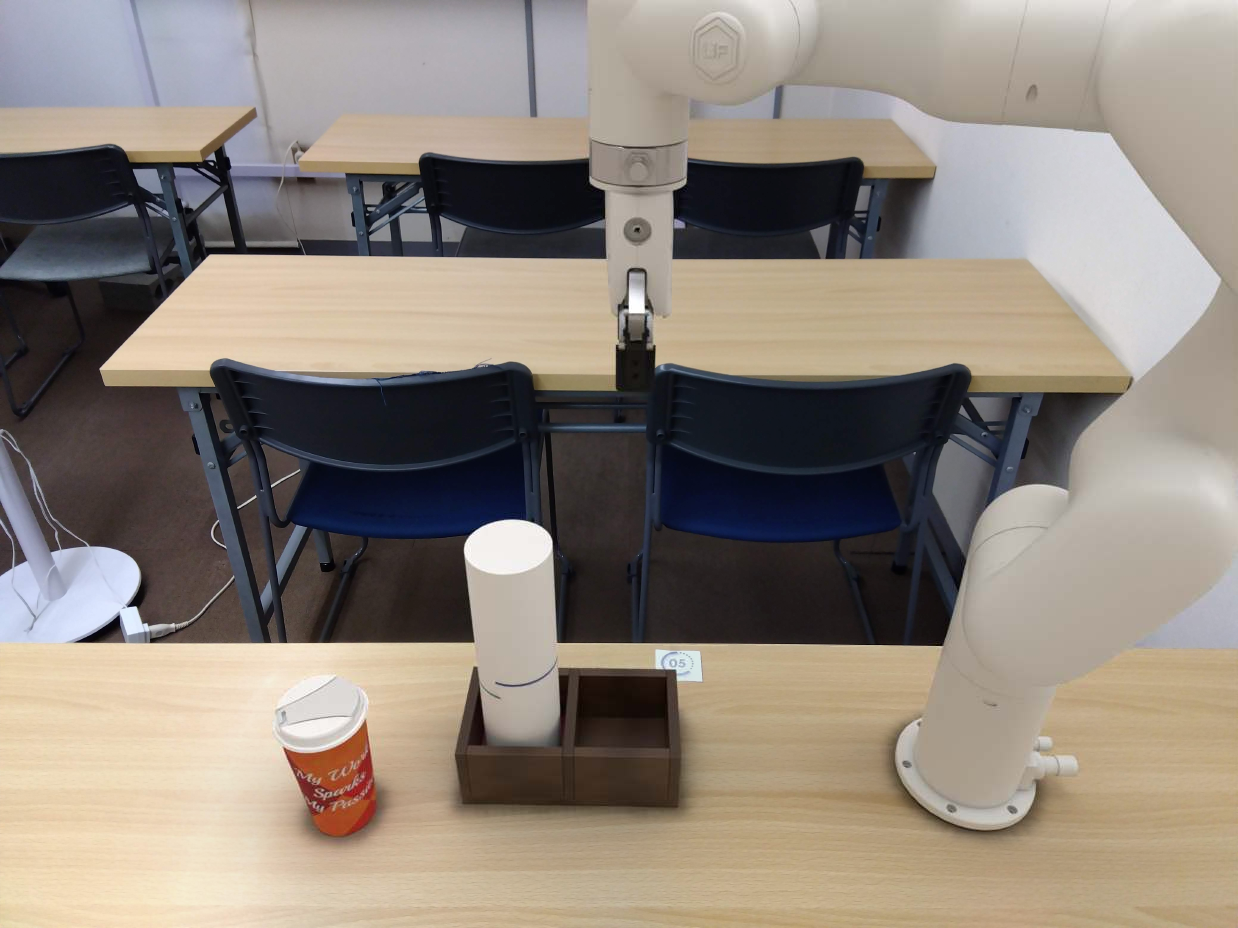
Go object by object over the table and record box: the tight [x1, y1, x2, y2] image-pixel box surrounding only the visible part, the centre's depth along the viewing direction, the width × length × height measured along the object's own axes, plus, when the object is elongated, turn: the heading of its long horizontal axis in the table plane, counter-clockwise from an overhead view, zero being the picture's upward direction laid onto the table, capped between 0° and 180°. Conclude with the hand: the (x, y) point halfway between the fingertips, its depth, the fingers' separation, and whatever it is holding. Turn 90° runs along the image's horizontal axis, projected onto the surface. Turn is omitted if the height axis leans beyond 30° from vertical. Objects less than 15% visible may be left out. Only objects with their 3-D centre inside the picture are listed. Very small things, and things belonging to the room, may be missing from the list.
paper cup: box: [271, 674, 378, 837], centre depth 75 cm, size 8×8×14 cm
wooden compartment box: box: [454, 665, 682, 808], centre depth 82 cm, size 20×10×7 cm, turn 89°
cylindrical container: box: [463, 519, 562, 747], centre depth 76 cm, size 7×7×25 cm
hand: (634, 364), depth 75 cm, fingers open, 9 cm apart
